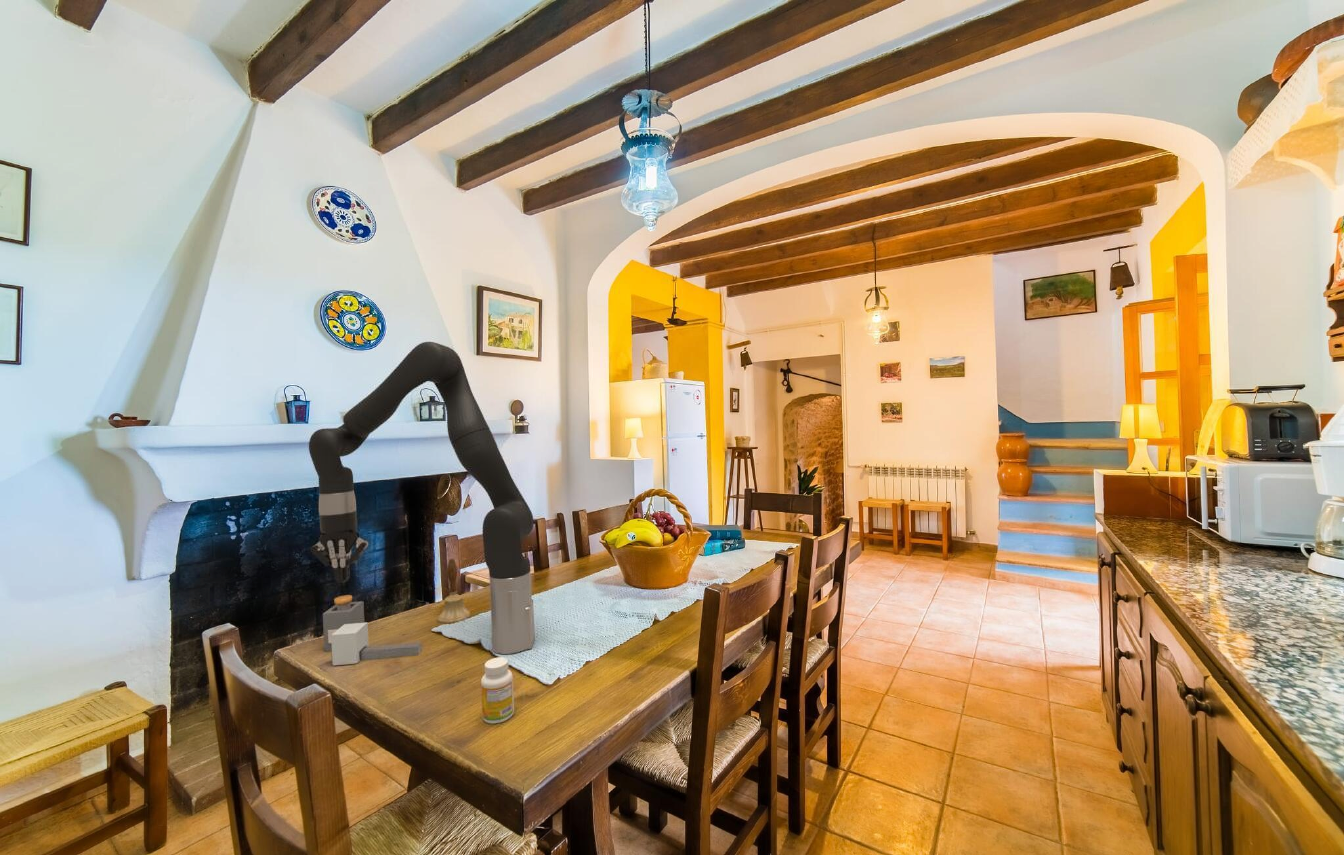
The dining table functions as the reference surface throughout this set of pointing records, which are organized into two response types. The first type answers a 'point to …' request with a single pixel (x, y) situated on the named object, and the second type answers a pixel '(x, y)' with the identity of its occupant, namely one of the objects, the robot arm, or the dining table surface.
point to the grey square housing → (341, 620)
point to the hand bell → (453, 599)
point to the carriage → (349, 643)
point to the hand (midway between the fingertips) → (342, 581)
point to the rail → (390, 651)
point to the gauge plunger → (343, 602)
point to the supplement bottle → (497, 691)
